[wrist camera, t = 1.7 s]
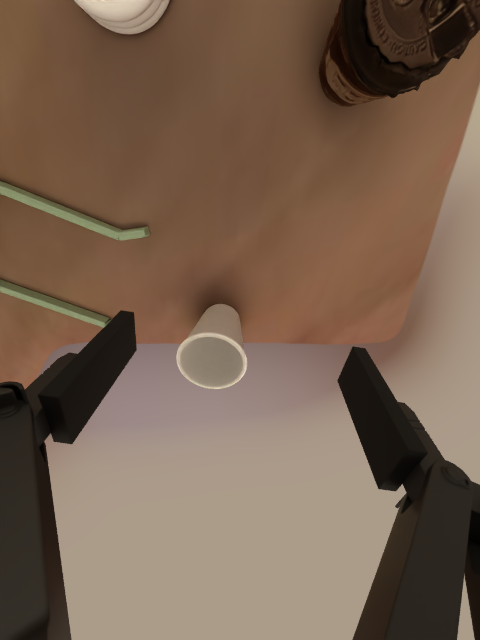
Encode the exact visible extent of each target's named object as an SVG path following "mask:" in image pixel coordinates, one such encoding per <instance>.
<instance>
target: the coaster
mask: <svg viewBox="0 0 480 640" xmlns="http://www.w3.org/2000/svg"><path fill="white" fill-rule="evenodd" d="M74 1H75V2H76V3H77V4H78V5H79V6H80V7H81V8H82V9H83V10H84V11H85V12H86V13H87V14H89V15H90V16H91V17H92V18H93V19H94V20H95V21H96V22H98V23H99V24H100V25H102V26H103V27H105V28H107V29H109V30H111V31H114V32H117V33H121V34H137V33H141V32H143V31H146V30H147V29H149V28H151V27H152V26H153V25H154V24H155V23H156V22H157V21H158V20H159V19H160V18H161V16H162V15H163V13H164V11H165V10H166V8H167V6H168V3H169V1H170V0H74Z"/></svg>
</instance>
